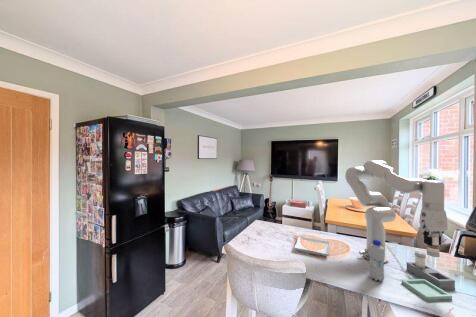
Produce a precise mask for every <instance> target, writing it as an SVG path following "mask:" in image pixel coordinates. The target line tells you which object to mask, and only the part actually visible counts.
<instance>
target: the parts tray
mask: <svg viewBox="0 0 476 317" xmlns="http://www.w3.org/2000/svg"><path fill="white" fill-rule="evenodd" d="M401 284H402V285H404V286H405V287H406V288H408V289H409V290H410V289H411V291H412V292H413V291H414V293H415V294H416V295H418V296H419V297H420V298H422V299H423V300H424V301H427V302H434V301H435V302H437V301H453V295H452V294H450V293H448V292H446V291H445V290H444V289H440V288H438V287H437V286H435V285H433V284H432V283H430V282H428V281H427V280H425V279H421V278H419V279H418V278H414V279H413V278H412V279H410V278H409V279H401Z"/></svg>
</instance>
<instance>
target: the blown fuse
mask: <svg viewBox="0 0 476 317" xmlns="http://www.w3.org/2000/svg"><path fill="white" fill-rule="evenodd" d="M427 232H428V231H427ZM431 237H432V246H430V245H428V244H426V256H427V255H428V256H430V257H432V258H441V257H440V256H441V254H440V245H439V233H438V232H435V231H432V233H431Z"/></svg>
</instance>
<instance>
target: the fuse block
mask: <svg viewBox="0 0 476 317" xmlns="http://www.w3.org/2000/svg"><path fill="white" fill-rule="evenodd" d="M406 270H407V271H408V270H409V271H408V272H410V273H412V274H413V273H414V274H413V275H415V276H416V277H418V278H419V279H421V278H422V279H425V280H427V281H428V282H430V283H432V284H433V285H435V286H437V287H438V288H440V289H442V290H455V288H456V281H455V280H454V279H452V278H451V277H450V276H449V277H448V276H447V275H445V274H443V273H442V272H440V271H438V270H436V269H434V268H432V267H430V266H428V265H427V264H425V269H420V268H418V267H416V266H415V261H407V262H406Z"/></svg>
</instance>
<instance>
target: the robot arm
mask: <svg viewBox="0 0 476 317" xmlns="http://www.w3.org/2000/svg"><path fill="white" fill-rule="evenodd" d="M376 177H377V179H380V180H382V181H384V182H385V184H386V185H387V186H389V187H390V188H392V189H393V190H396V191H398V192H400V193H403V194H421V197H422V198H421V200H422V201H421V210H420V214H419V215H420V216H419V228H418V230H419V231H420V232H421V233H422V236H423V243H424V244H425V245H427V244H428V245H430V246H432V237H431V233H432V231H435V232H438V233H439V246H441V245H442V237H443V234H444V233H445V232H447V230H448V216H447V211H446V210H445V183H444V182H443V181H441V180H434V179H433V180H432V179H431V180H430V179H429V180H428V179H423V178H412V177H411V178H406V177H403V176H399V175H397V174H396V170H395V168H394V167H391V166H389V164H388V163H387V162H386V161H384V160H376V159H375V160H373V159H371V160H367V161H365V163H363V166H351V167H349V168H347V169H346V171H345V180H346V183H347V185H349V187H350V188H351V190H352V191H353V193H354V194H355V196H356V198H357V200H358V201H359V203H360V204H361V205H362V206H363V207H366V208H367V207H368V208H367V209H366V210H365V212H364V217H365V221H366V222H365V223H366V248H364V250H359V251H358V253H359V255H363V257H364V258H365V259H367V260H369V261H370V254H369V248H370V245H371V244H373V240H379V241H380V242H381V246H382V247H383V248H384V252H385V253H386V228H385V226H384V223H390V222H391V223H392V222H394V221H395V220H396V219H397V218H396V216H397V215H396V212H395V210H394V208H393V207H392V205H391V204H390V202H389V201H388V199H387V198H386V196H384V195H383V193H381V192H379V191H370V190H369V188H368V187H367V185H366V184H365V183H364V182H363V181H361V180H368V179H372V178H376ZM427 231H428V232H427ZM386 263H389V258H388V257H387V256H386V255H385V258H384V264H386Z"/></svg>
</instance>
